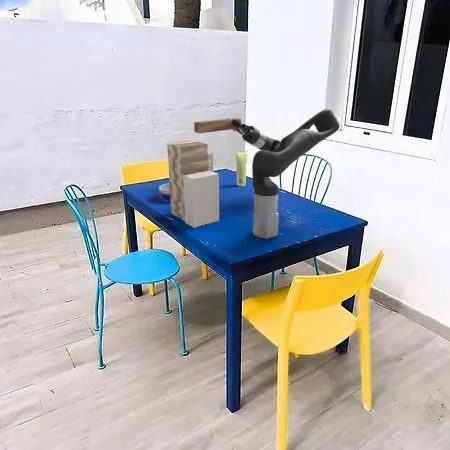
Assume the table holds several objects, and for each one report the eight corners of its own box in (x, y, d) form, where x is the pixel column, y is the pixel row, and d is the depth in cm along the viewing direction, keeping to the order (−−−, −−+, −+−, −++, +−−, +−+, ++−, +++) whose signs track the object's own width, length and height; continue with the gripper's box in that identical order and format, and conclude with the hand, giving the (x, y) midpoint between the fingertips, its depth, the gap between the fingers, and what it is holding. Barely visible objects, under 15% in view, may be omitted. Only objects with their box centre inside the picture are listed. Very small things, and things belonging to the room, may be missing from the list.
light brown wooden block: (240, 128, 174) (241, 119, 172) (199, 133, 161) (199, 123, 160) (235, 127, 176) (235, 118, 175) (194, 132, 164) (194, 122, 163)
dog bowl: (193, 200, 196) (193, 189, 194) (163, 204, 191) (162, 192, 189) (184, 192, 209) (184, 181, 207) (156, 195, 204) (155, 184, 202)
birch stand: (208, 214, 177) (207, 144, 165) (185, 221, 170) (182, 147, 158) (194, 207, 186) (192, 140, 174) (171, 213, 179) (167, 143, 167)
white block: (219, 220, 170) (218, 173, 162) (194, 227, 163) (192, 179, 155) (209, 216, 176) (209, 170, 168) (185, 222, 168) (183, 175, 160)
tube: (239, 183, 224) (239, 149, 216) (247, 184, 221) (248, 150, 214) (235, 186, 219) (235, 151, 212) (243, 187, 217) (243, 152, 209)
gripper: (261, 146, 177) (236, 130, 166) (241, 142, 188) (216, 126, 176) (268, 131, 177) (243, 114, 166) (247, 127, 188) (222, 111, 176)
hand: (229, 120), depth 171 cm, fingers closed on light brown wooden block, 4 cm apart
